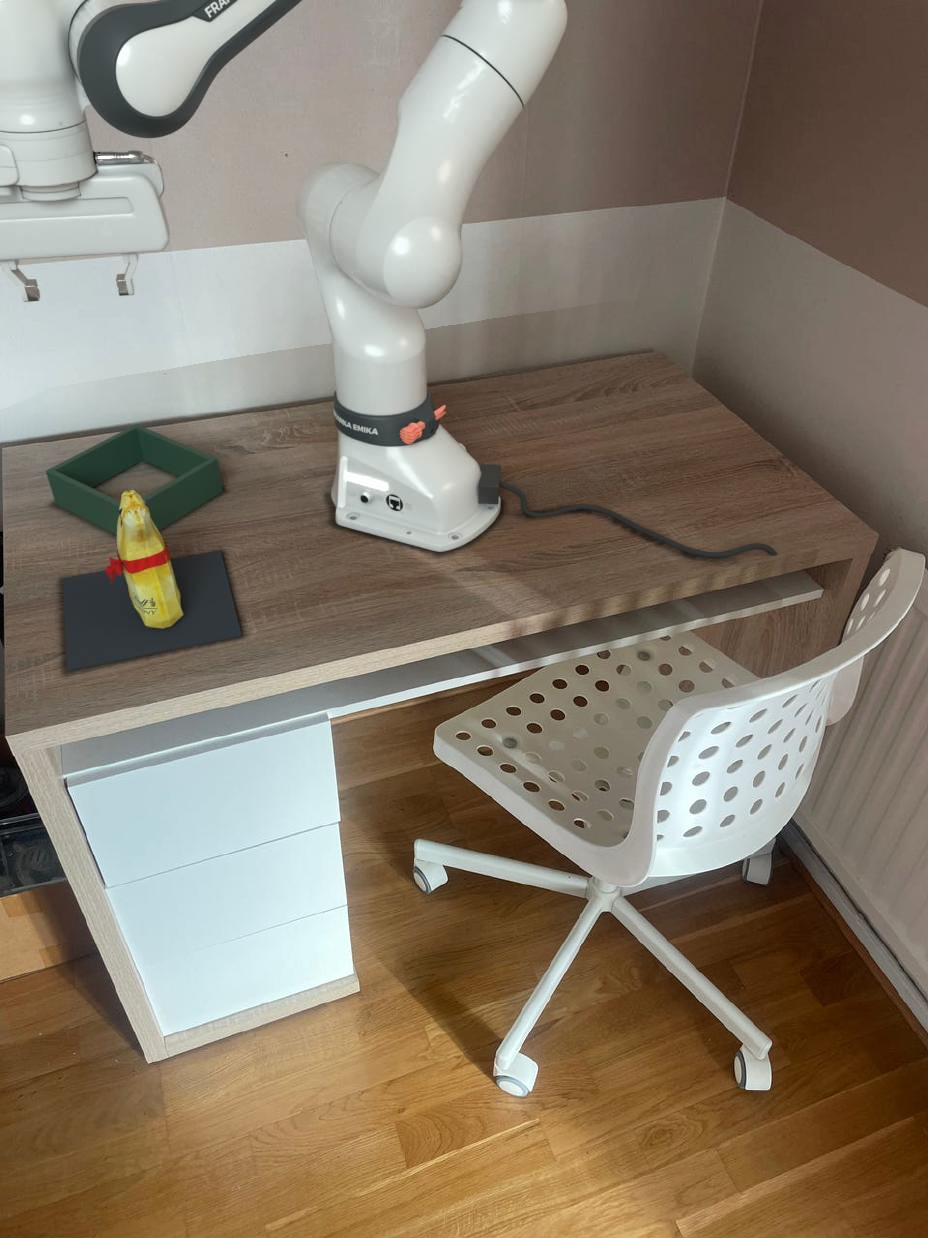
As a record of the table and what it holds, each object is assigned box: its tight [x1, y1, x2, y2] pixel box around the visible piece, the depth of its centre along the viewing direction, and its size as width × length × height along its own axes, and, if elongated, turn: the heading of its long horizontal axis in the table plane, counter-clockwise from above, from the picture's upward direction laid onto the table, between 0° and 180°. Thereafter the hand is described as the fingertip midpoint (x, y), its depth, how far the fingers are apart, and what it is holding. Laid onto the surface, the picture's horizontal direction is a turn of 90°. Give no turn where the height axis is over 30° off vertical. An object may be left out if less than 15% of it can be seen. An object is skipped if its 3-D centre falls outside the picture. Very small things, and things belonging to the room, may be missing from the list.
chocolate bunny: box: [104, 489, 184, 628], centre depth 104 cm, size 7×11×15 cm, turn 27°
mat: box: [62, 549, 243, 672], centre depth 109 cm, size 18×16×1 cm
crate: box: [45, 423, 224, 536], centre depth 124 cm, size 15×15×5 cm
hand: (80, 296), depth 101 cm, fingers open, 8 cm apart
